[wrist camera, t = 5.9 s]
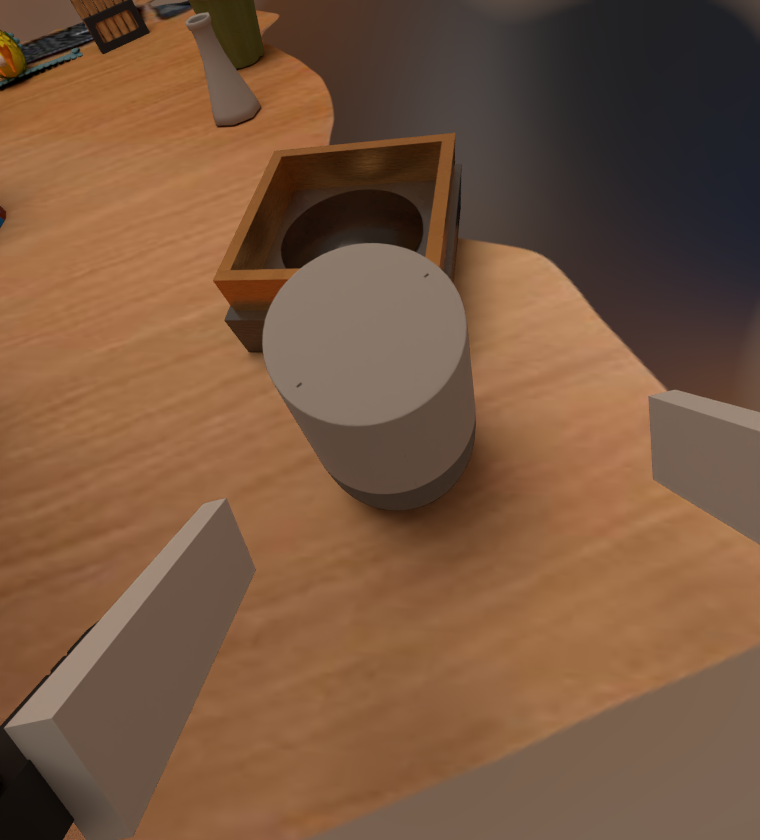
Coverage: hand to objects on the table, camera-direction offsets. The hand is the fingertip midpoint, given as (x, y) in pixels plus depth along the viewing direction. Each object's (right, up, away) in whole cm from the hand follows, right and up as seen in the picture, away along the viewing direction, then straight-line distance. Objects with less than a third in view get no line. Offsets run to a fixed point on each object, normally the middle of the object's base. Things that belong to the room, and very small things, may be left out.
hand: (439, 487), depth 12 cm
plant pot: (-24, +63, +52) cm, 85 cm away
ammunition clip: (-55, +81, +67) cm, 118 cm away
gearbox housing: (-4, +15, +23) cm, 28 cm away
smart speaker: (0, 0, +15) cm, 15 cm away
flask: (-22, +46, +43) cm, 67 cm away
